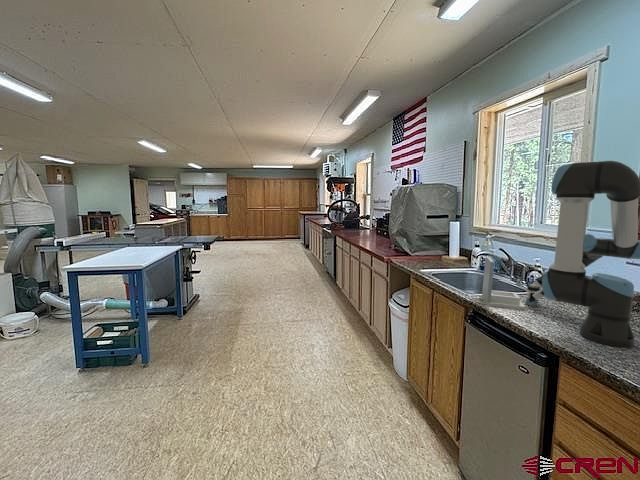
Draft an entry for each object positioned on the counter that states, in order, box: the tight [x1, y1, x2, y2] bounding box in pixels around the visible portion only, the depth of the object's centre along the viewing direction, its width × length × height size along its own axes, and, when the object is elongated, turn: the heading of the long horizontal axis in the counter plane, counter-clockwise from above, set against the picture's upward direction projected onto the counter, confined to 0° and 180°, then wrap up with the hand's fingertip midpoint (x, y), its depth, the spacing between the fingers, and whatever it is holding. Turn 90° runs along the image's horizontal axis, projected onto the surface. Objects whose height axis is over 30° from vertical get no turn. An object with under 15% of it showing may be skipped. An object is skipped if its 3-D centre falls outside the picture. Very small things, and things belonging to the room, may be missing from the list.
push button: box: [525, 283, 541, 307], centre depth 161 cm, size 7×5×10 cm
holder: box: [481, 256, 526, 311], centre depth 163 cm, size 18×16×22 cm
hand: (530, 294), depth 162 cm, fingers open, 13 cm apart
